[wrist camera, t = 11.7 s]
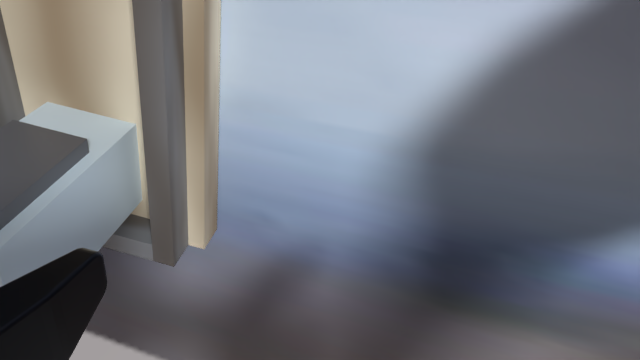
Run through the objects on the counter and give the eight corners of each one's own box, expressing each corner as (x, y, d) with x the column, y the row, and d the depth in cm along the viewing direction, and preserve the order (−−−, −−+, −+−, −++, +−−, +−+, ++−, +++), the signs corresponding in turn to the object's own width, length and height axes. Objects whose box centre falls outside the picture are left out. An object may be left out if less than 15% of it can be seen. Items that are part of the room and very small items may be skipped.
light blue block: (142, 199, 24) (21, 340, 17) (62, 178, 24) (-86, 308, 18) (134, 111, 21) (-12, 239, 15) (45, 88, 22) (-137, 203, 15)
